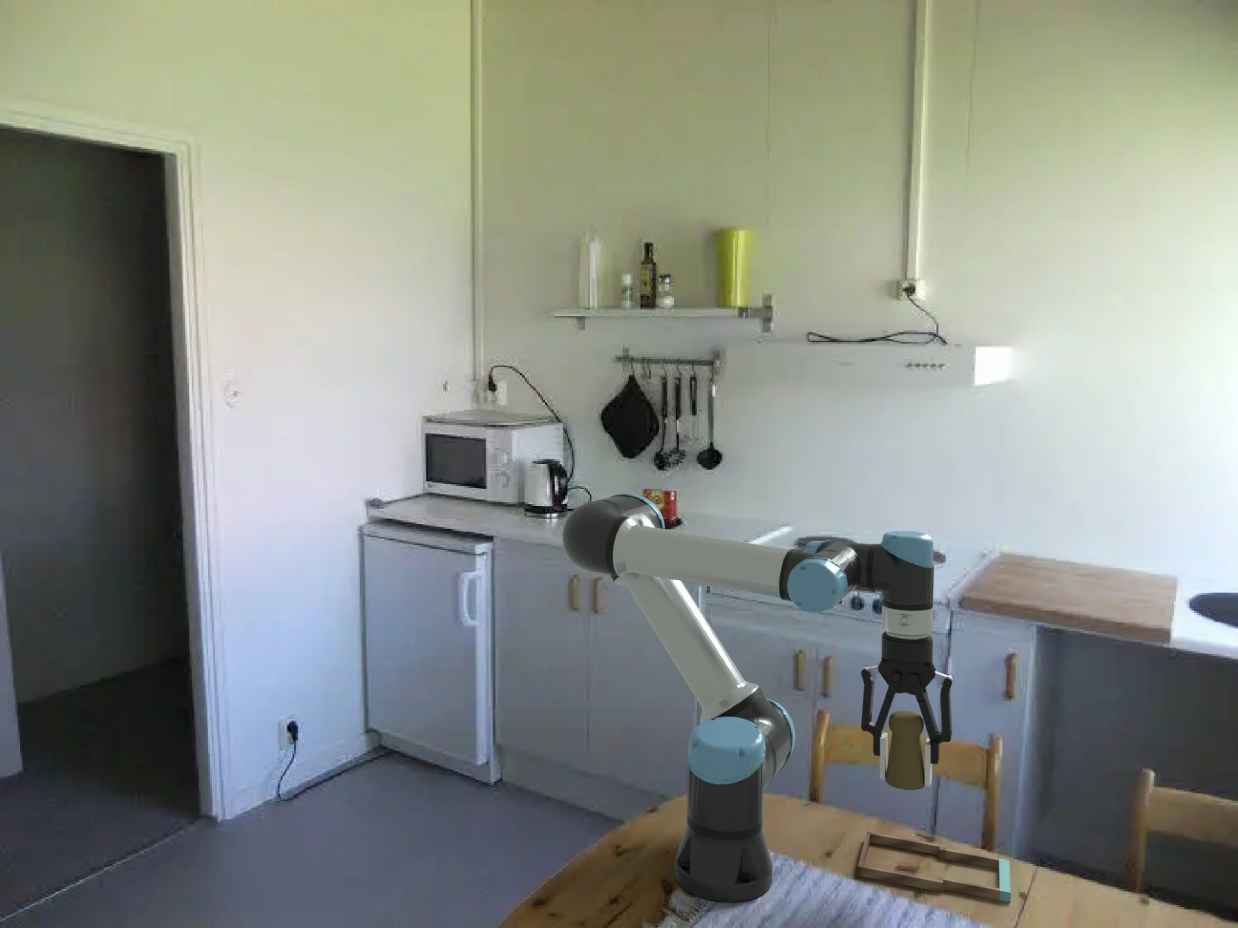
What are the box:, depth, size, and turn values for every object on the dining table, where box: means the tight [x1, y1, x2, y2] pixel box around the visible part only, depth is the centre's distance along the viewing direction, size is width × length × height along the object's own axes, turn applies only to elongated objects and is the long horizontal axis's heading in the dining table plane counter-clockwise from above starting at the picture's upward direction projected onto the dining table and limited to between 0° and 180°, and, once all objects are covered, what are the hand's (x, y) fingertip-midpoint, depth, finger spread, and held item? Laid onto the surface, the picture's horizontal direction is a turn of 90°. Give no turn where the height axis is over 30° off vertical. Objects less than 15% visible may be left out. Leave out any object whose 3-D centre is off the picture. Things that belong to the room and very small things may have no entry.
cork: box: [884, 709, 926, 791], centre depth 146 cm, size 6×6×11 cm
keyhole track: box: [857, 831, 1012, 903], centre depth 149 cm, size 22×12×2 cm, turn 69°
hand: (905, 779), depth 146 cm, fingers closed on cork, 6 cm apart
